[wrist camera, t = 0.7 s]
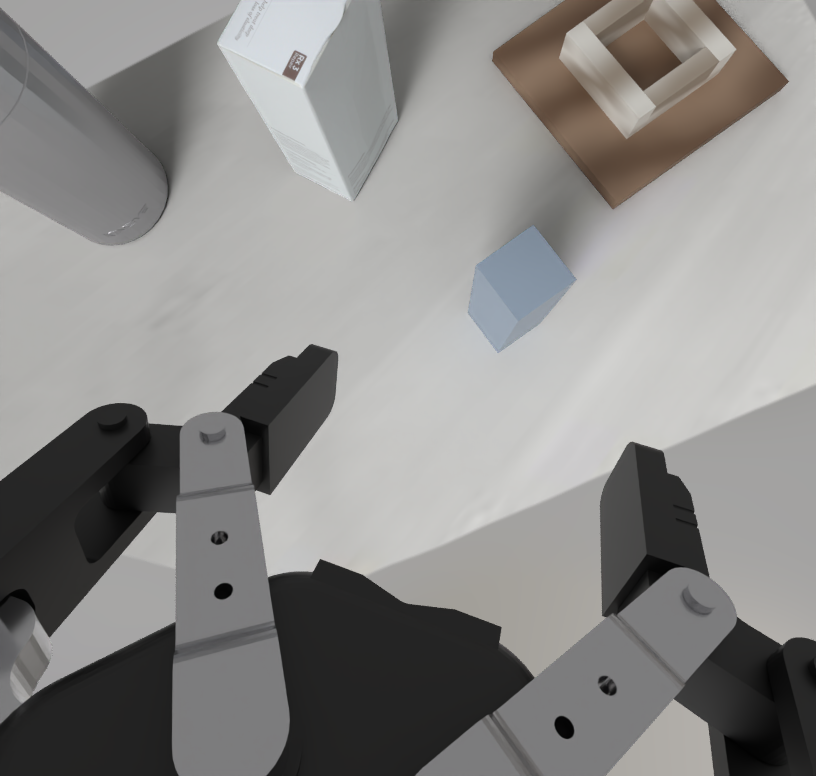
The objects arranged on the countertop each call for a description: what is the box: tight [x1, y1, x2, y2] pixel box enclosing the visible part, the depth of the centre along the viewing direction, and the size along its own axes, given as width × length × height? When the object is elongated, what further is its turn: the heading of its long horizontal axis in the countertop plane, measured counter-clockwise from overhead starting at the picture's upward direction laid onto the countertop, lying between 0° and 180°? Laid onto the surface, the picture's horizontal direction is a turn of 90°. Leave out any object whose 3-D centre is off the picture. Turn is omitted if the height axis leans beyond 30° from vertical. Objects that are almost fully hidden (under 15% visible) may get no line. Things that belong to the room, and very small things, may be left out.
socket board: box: [492, 0, 789, 209], centre depth 38 cm, size 16×16×4 cm
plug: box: [468, 225, 577, 353], centre depth 33 cm, size 4×4×11 cm
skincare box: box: [217, 0, 398, 201], centre depth 34 cm, size 8×6×15 cm
